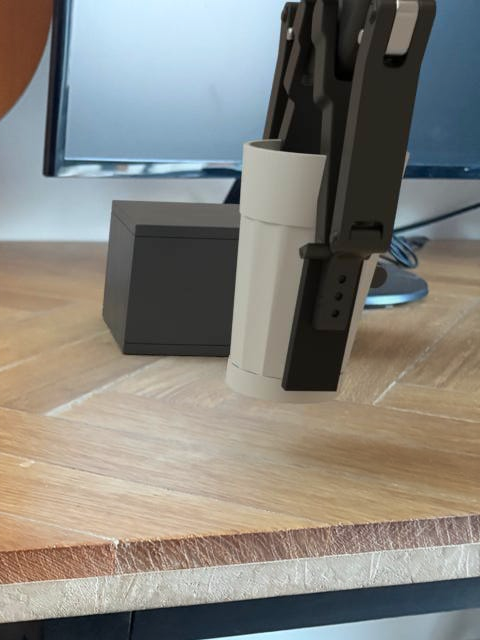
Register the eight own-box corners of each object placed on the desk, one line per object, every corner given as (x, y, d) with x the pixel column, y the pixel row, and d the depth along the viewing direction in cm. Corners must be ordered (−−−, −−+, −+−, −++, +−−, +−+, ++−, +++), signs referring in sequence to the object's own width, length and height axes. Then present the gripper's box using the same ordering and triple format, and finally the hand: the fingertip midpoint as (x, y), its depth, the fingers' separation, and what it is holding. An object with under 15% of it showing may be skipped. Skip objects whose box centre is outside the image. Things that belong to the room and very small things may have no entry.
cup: (386, 394, 55) (444, 153, 48) (288, 418, 51) (336, 160, 45) (277, 357, 60) (316, 137, 54) (181, 377, 56) (210, 141, 50)
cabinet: (270, 320, 85) (290, 205, 80) (313, 358, 75) (339, 230, 71) (101, 315, 84) (112, 199, 80) (122, 354, 74) (135, 224, 70)
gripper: (237, -133, 51) (182, 318, 63) (384, -210, 34) (270, 429, 46) (379, -127, 52) (297, 320, 64) (594, -201, 35) (427, 430, 47)
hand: (286, 365), depth 55 cm, fingers closed on cup, 7 cm apart
